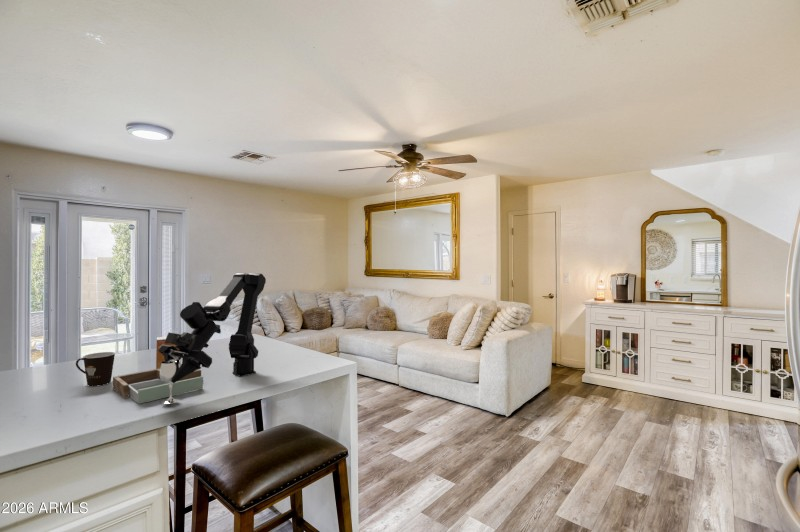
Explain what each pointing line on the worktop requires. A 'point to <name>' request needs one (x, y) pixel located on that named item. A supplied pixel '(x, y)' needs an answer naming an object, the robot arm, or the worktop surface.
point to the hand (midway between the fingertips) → (166, 380)
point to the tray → (162, 389)
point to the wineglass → (169, 376)
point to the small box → (158, 355)
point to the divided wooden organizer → (142, 379)
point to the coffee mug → (98, 367)
